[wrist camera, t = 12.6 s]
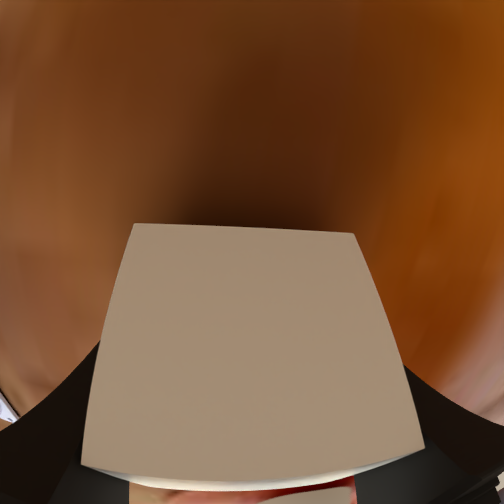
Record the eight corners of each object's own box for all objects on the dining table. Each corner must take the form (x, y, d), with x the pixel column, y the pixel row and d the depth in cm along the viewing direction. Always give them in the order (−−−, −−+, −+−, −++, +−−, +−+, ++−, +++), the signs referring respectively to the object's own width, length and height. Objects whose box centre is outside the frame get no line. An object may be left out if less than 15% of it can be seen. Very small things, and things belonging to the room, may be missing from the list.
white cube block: (158, 340, 13) (148, 486, 8) (134, 223, 8) (81, 464, 4) (304, 342, 14) (326, 482, 9) (353, 233, 9) (424, 448, 5)
